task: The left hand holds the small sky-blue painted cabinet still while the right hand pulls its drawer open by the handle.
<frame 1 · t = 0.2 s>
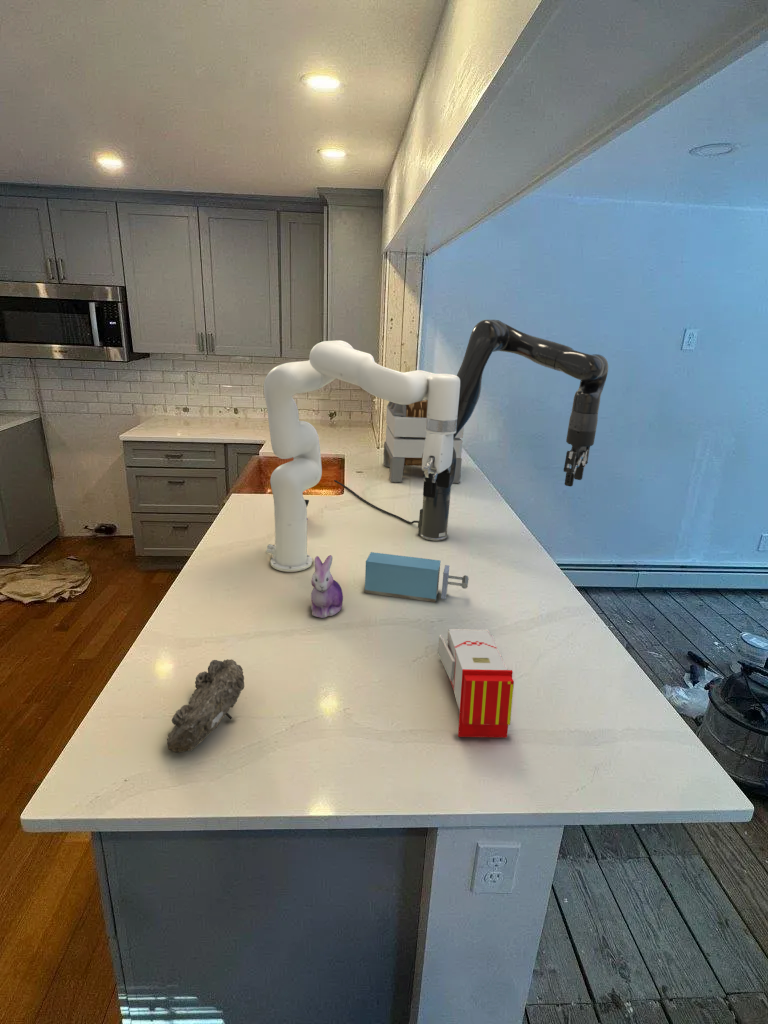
left hand: (436, 491, 145), 31 cm above the counter, tool pointing down, fingers open, 9 cm apart
right hand: (573, 482, 165), 29 cm above the counter, tool pointing down, fingers open, 8 cm apart
figurine: (326, 610, 148), on the counter
fossil: (212, 717, 108), on the counter
drawer: (423, 579, 156), point 5 cm above the counter, slide at 1.4 cm
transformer: (419, 473, 275), on the counter
figurine character: (298, 524, 204), on the counter
toy: (469, 691, 119), on the counter
cabinet: (401, 592, 159), on the counter
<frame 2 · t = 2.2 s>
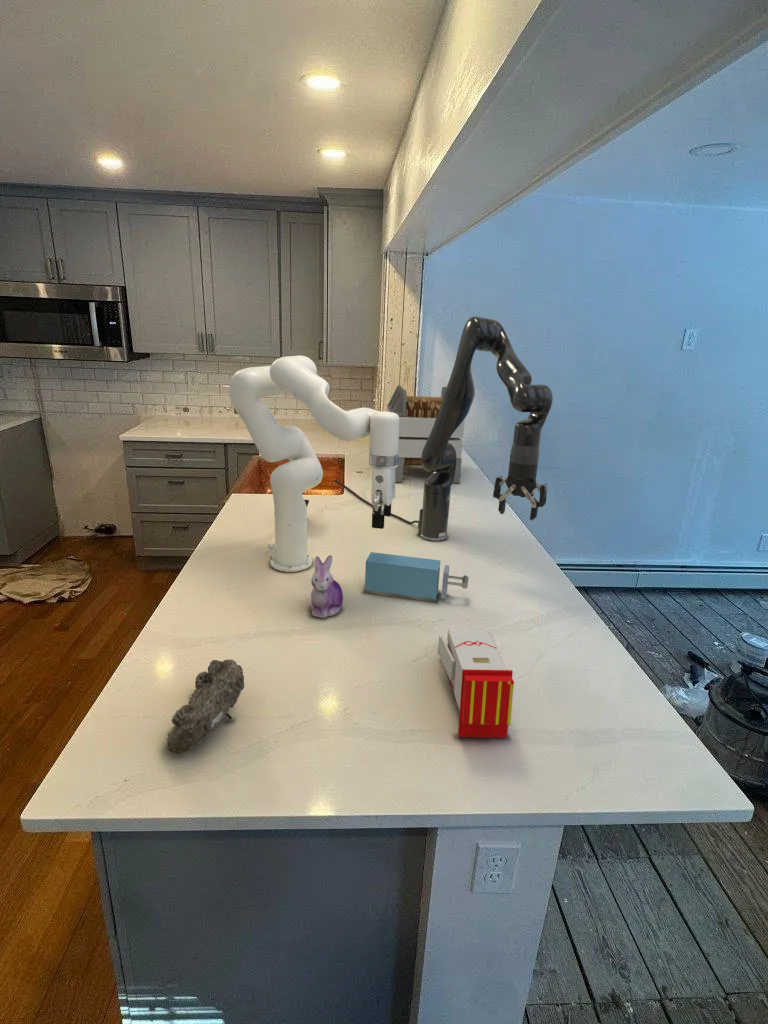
left hand: (381, 521, 153), 20 cm above the counter, tool pointing down, fingers open, 9 cm apart
right hand: (516, 516, 158), 22 cm above the counter, tool pointing down, fingers open, 8 cm apart
nothing on the counter moved.
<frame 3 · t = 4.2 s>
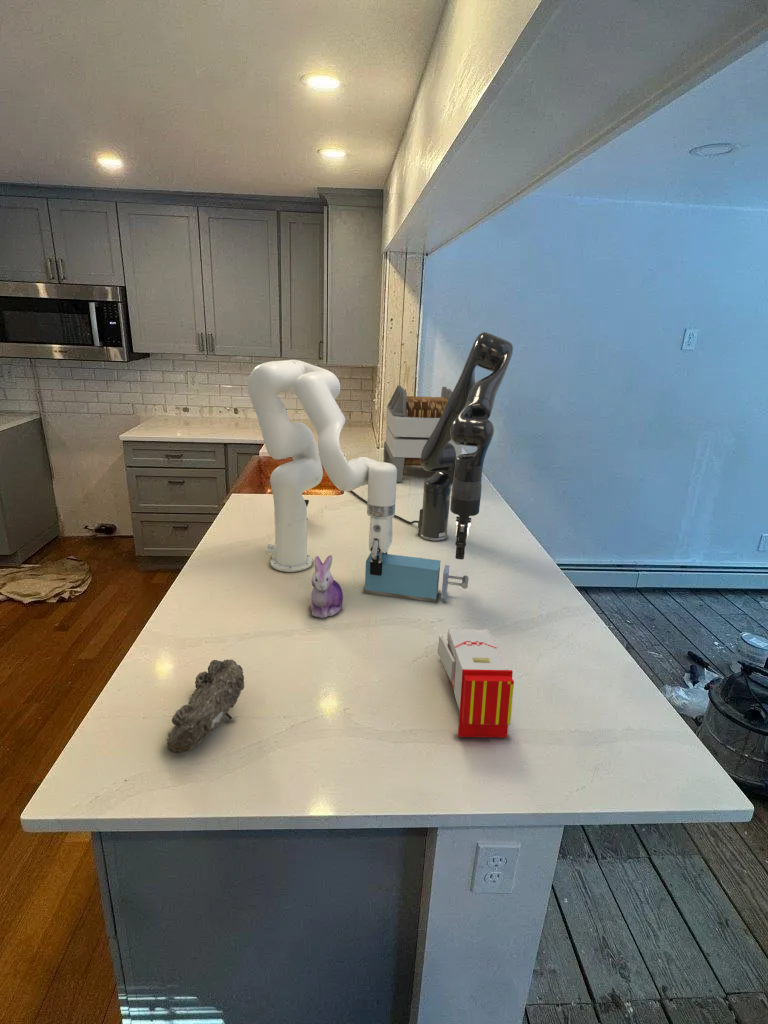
left hand: (378, 568, 158), 6 cm above the counter, tool pointing down, fingers closed on cabinet, 6 cm apart
right hand: (460, 552, 152), 14 cm above the counter, tool pointing down, fingers open, 8 cm apart
cabinet: (401, 592, 159), on the counter, touching left hand
everything else where it was.
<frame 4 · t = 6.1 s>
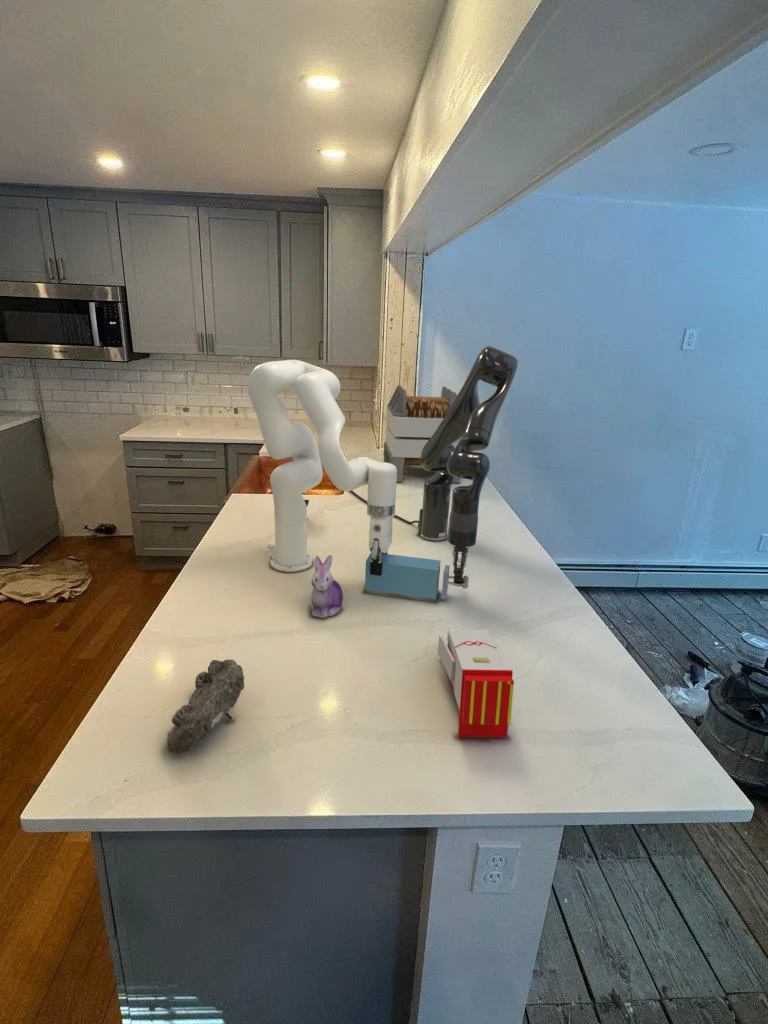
left hand: (378, 568, 158), 6 cm above the counter, tool pointing down, fingers closed on cabinet, 6 cm apart
right hand: (457, 584, 155), 4 cm above the counter, tool pointing down, fingers closed
drawer: (423, 579, 156), point 5 cm above the counter, slide at 1.4 cm, touching right hand
cabinet: (401, 592, 159), on the counter, touching left hand
everything else where it was.
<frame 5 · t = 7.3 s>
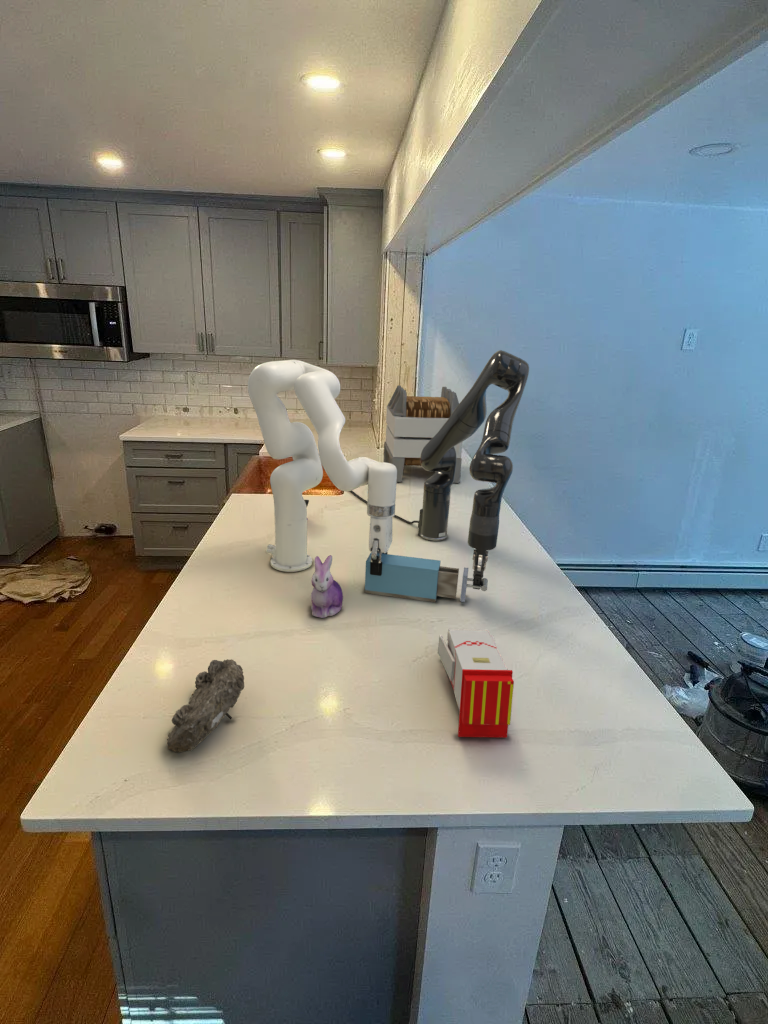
left hand: (378, 568, 158), 6 cm above the counter, tool pointing down, fingers closed on cabinet, 6 cm apart
right hand: (476, 587, 154), 4 cm above the counter, tool pointing down, fingers closed
drawer: (442, 581, 156), point 5 cm above the counter, slide at 6.6 cm, touching right hand
cabinet: (401, 592, 159), on the counter, touching left hand
everything else where it was.
when the left hand's fingers open (6 cm above the counter, at t = 9.1 s): cabinet stays where it is, on the counter.
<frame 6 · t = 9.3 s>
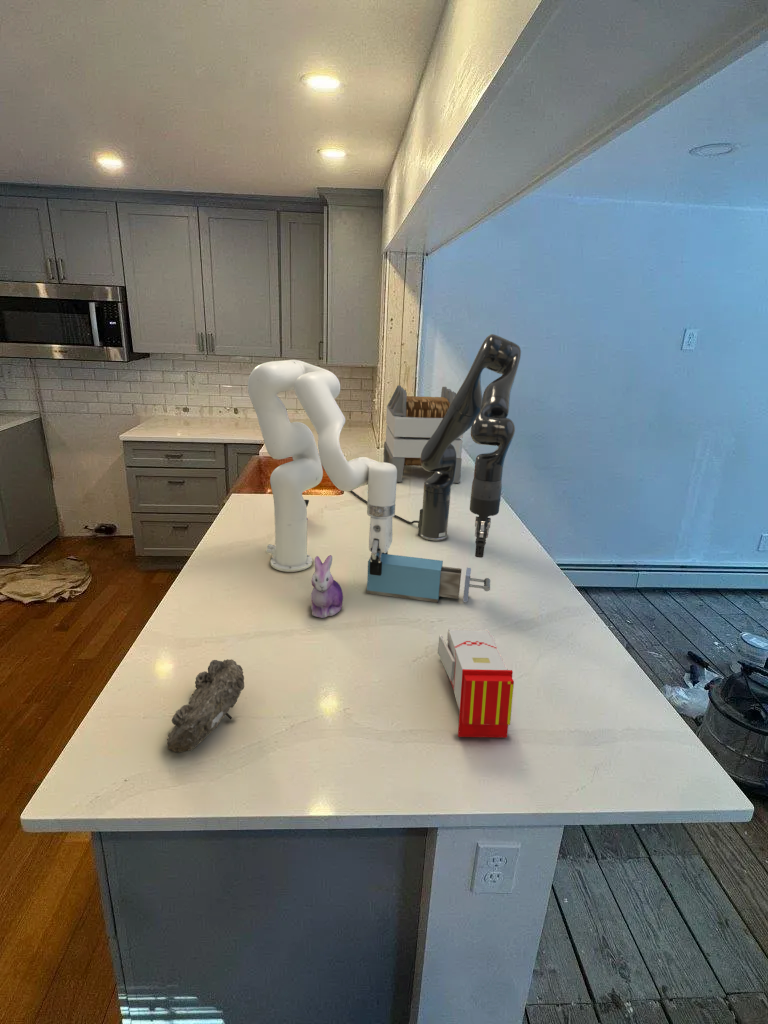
left hand: (378, 567, 158), 7 cm above the counter, tool pointing down, fingers open, 7 cm apart
right hand: (479, 556, 151), 14 cm above the counter, tool pointing down, fingers closed
drawer: (445, 581, 155), point 5 cm above the counter, slide at 6.7 cm
cabinet: (403, 592, 159), on the counter
everything else where it was.
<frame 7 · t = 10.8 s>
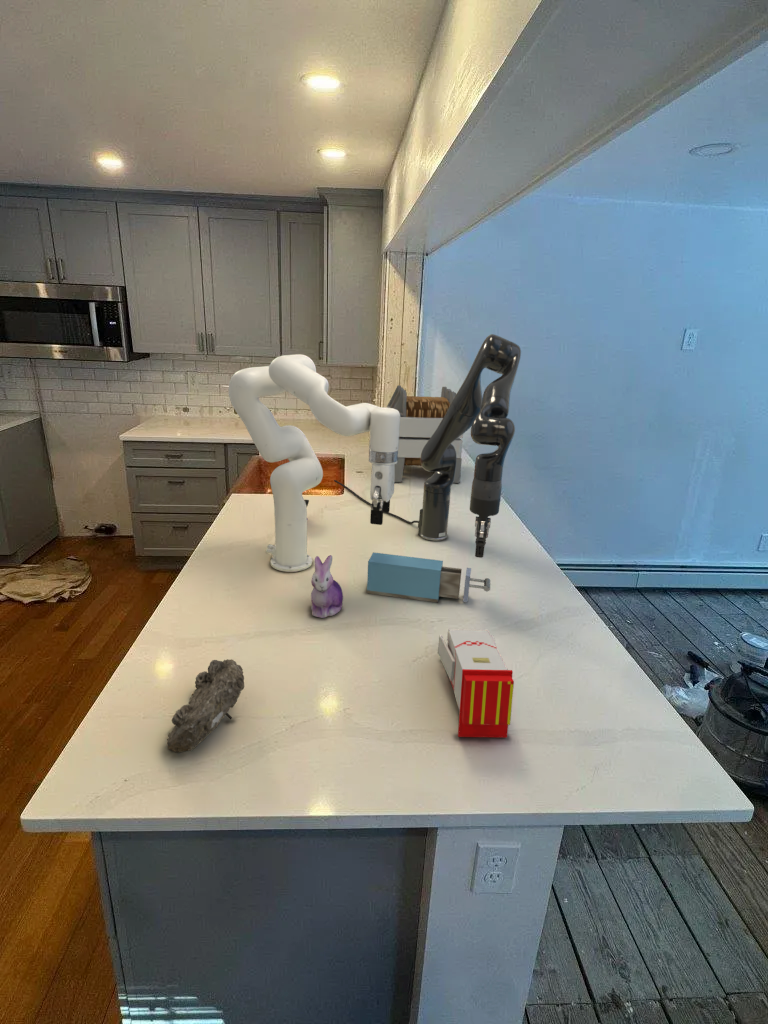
left hand: (380, 517, 153), 21 cm above the counter, tool pointing down, fingers open, 9 cm apart
right hand: (479, 556, 151), 14 cm above the counter, tool pointing down, fingers closed
nothing on the counter moved.
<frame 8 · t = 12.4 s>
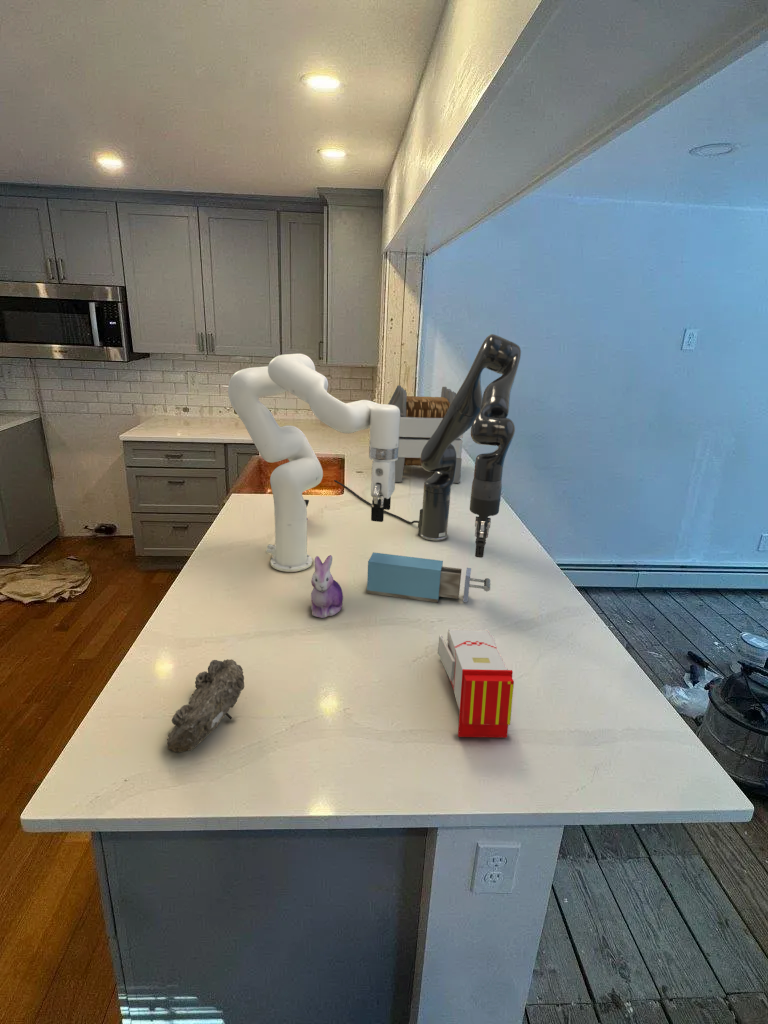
left hand: (380, 514, 153), 22 cm above the counter, tool pointing down, fingers open, 9 cm apart
right hand: (479, 556, 151), 14 cm above the counter, tool pointing down, fingers closed
nothing on the counter moved.
at the end: drawer slide at 6.7 cm; cabinet tilted 0°; cabinet never tilted more than 4° during the clip; cabinet moved 0.6 cm from its start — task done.
